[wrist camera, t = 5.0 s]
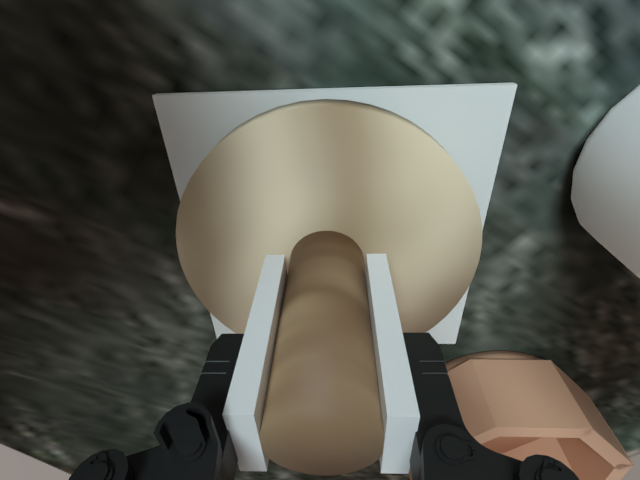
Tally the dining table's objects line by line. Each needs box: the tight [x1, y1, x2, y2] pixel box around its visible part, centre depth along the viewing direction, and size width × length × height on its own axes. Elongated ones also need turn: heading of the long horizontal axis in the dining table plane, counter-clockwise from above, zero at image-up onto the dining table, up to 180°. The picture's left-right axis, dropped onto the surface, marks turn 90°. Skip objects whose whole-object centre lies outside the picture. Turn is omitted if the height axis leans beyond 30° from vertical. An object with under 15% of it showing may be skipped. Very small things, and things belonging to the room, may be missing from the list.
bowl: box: [409, 351, 634, 480], centre depth 22 cm, size 11×11×5 cm
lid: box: [176, 99, 482, 476], centre depth 13 cm, size 13×13×9 cm
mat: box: [152, 83, 517, 344], centre depth 18 cm, size 14×14×1 cm
